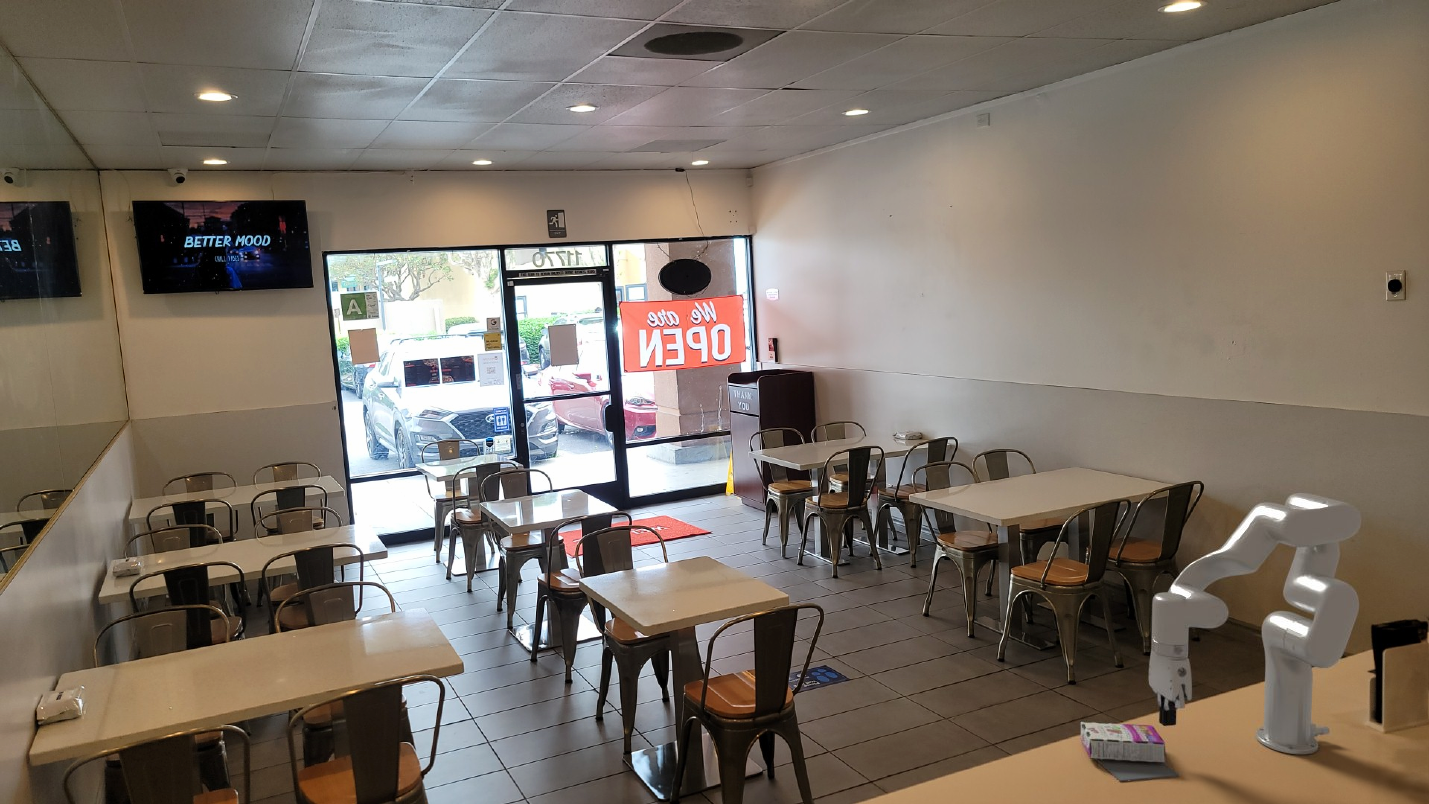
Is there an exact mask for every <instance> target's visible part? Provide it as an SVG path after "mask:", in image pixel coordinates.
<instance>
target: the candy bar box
mask: <svg viewBox="0 0 1429 804" xmlns="http://www.w3.org/2000/svg"><path fill="white" fill-rule="evenodd" d="M1080 741H1081V743H1082V745H1083V747H1084V749H1085V751H1086V753H1087V755H1088V757H1089V759H1093V760H1095V759H1106V760H1126V761H1142V762H1159V763H1165V764H1166V742H1165V741H1164V739H1163V738H1162V736H1161V735H1160V734H1159V733H1158V731H1157V730H1156V728H1155V726H1153V725H1151V724H1129V723H1128V724H1127V723H1126V724H1125V723H1108V722H1088V721H1080Z"/></svg>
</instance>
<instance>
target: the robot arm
mask: <svg viewBox="0 0 1429 804" xmlns="http://www.w3.org/2000/svg"><path fill="white" fill-rule="evenodd" d="M1361 525H1362V516H1361V513H1360V512H1359V510H1358V509H1357V507H1355V506H1354V505H1352V504H1350V503H1348V502H1345V501H1342V500H1336V499H1332V498H1328V497H1325V496H1321V495H1317V494H1313V493H1309V492H1308V493H1305V492H1297V493H1293V494H1291V495H1289V496H1288V497H1287V499H1286V500H1285V502H1284V504H1281V503H1275V502H1270V501H1269V502H1267V501H1266V502H1260V503H1258V504H1256V505H1255V506H1254V507H1252V508H1251V510H1250V511H1248V513H1247V514H1246V515H1245V517H1244V519H1243V520H1242V521H1241V522H1240V523H1239V525H1238V526H1237V527H1236V528H1235V530H1234V531H1233V533H1231V535H1230V536H1229V537H1228V538H1227V540H1226V541H1225V543H1223V545H1222V546H1221V547H1219V549H1217V550H1215V551H1212V552H1209V553H1208V554H1206V555H1203V556H1202V557H1200V558H1198V559H1196V560H1194V561H1193V562H1192V563H1190V564H1189V565H1187V566H1186V567H1185V568H1184V569H1183V570H1182V571H1181V572H1180V574H1179V575H1178V576H1177V577H1176V579H1175V580H1174V581H1173V582H1172V584H1171V586H1170V587H1169V589H1168V591H1167V592H1158V593H1156V594H1154V596H1153V598H1152V605H1151V607H1152V609H1151V611H1152V612H1151V614H1152V615H1151V648H1150V649H1151V650H1150V658H1149V663H1148V664H1149V666H1148V684H1149V686H1150V687H1151V690H1152V691H1153V692H1154V693H1155V695H1156V696H1157V704H1158V706H1159V709H1158V711H1159V712H1158V720H1159V721H1158V722H1159V724H1161V725H1162V726H1164V727H1168V726H1169V727H1170V726H1171V727H1172V726H1176V725H1177V710H1179V709H1185V708H1186V703H1185V701H1188V702H1189V701H1191V700H1192V695H1193V693H1192V692H1193V687H1192V686H1193V685H1192V682H1193V681H1192V669H1191V663H1190V659H1189V658H1188V656H1189V631H1190V630H1189V628H1201V629H1215V628H1218V627H1220V626H1222V625H1224V624H1225V622H1227V620H1228V617H1229V608H1228V606H1227V604H1226V603H1225V602H1224V601H1223V600H1222V599H1220V597H1217V596H1215V595H1213V594H1211V593H1208V592H1207V591H1204V590H1205V589H1206V588H1207V587H1208V586H1209V585H1211V584H1213V583H1214V582H1216V581H1217V580H1220V579H1224V578H1227V577H1228V578H1229V577H1234V576H1240V575H1241V576H1242V575H1248V574H1253V573H1255V572H1257V571H1258V570H1259V569H1260V567H1261V566H1262V564H1263V563H1264V562H1265V560H1266V559H1267V558H1268V557H1269V555H1270V554H1271V553H1272V551H1274V550H1275V548H1276V547H1277V546H1278V544H1283V545H1287V546H1290V547H1292V548H1296V550H1295V554H1294V557H1293V560H1292V563H1291V566H1290V569H1289V570H1288V573H1287V576H1286V579H1285V583H1284V586H1283V591H1282V595H1283V598H1284V600H1285V602H1287V604H1289V605H1290V606H1293V607H1294V608H1297V609H1299V610H1300V611H1303V612H1306V613H1308V614H1311V615H1313V616H1314V617H1313V620H1312V619H1311V618H1307V617H1304V616H1302V615H1299V614H1297V613H1295V612H1292V611H1285V610H1276V611H1273V612H1271V613H1269V614H1268V615H1267V616H1266V617H1265V618H1264V620H1263V623H1262V625H1261V638H1262V643H1263V648H1264V657H1265V658H1264V659H1265V669H1264V670H1265V672H1264V673H1265V674H1264V675H1265V676H1264V702H1263V703H1264V704H1263V705H1264V706H1263V726H1261V727H1260V728H1258V729H1257V730H1256V731H1255V737H1256V740H1257V741H1258V742H1259V743H1260V744H1262V745H1263V746H1265V747H1267V748H1269V749H1272V750H1274V751H1277V752H1281V753H1285V754H1292V755H1310V754H1314V753H1315V752H1316V753H1317V751H1318V750H1319V742H1318V740H1317V739H1316V737H1318V736H1319V735H1320V736H1322V735H1329V734H1330V728H1329V727H1328V726H1327V725H1322V726H1321V725H1320V726H1317V725H1316V723H1314V722H1312V708H1313V707H1312V706H1313V685H1314V684H1313V683H1314V682H1313V681H1314V679H1313V677H1314V674H1313V667H1314V668H1318V669H1328V668H1332V667H1333V666H1335V665H1336V664H1337V663H1338V662H1339V661H1340V659H1341V658H1342V656H1343V654H1344V652H1345V650H1346V648H1347V644H1348V641H1349V639H1350V636H1351V634H1352V630H1353V628H1354V626H1355V622H1356V619H1357V618H1358V614H1359V609H1360V600H1359V596H1358V593H1357V591H1356V590H1355V588H1354V587H1353V586H1352V585H1351V584H1349V583H1348V582H1345V581H1342V580H1340V579H1337V578H1336V577H1335V575H1336V570H1337V568H1338V564H1339V562H1340V561H1339V560H1340V556H1341V555H1340V552H1341V551H1340V546H1339V542H1341V541H1345V540H1348V539H1350V538H1352V537H1353V536H1355V534H1357V533H1358V531H1359V530H1360V528H1361V527H1362V526H1361Z"/></svg>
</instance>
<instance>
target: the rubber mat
mask: <svg viewBox="0 0 1429 804" xmlns="http://www.w3.org/2000/svg"><path fill="white" fill-rule="evenodd" d="M1094 760H1095V761H1097V763H1099V765H1101V766H1102V767H1103V768H1104V769H1105V770H1106V769H1107V770H1108V771H1109V772H1108V771H1107V770H1106V771H1107V772H1108V773H1110V774H1111V775H1112V776H1113V777H1114V778H1115V779H1116V778H1117V779H1116V780H1117V781H1118V780H1119V781H1121V782H1120V783H1122V781H1124V782H1133V781H1134V780H1135V781H1144V780H1153V779H1164V778H1165V779H1166V778H1175V777H1180V775H1179V773H1177V771H1175V770H1174V769H1172V767H1170V766H1169V765H1167V764H1166V762H1165V763H1159V762H1142V761H1126V760H1106V759H1094ZM1128 780H1130V781H1128ZM1119 781H1118V782H1119Z"/></svg>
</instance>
